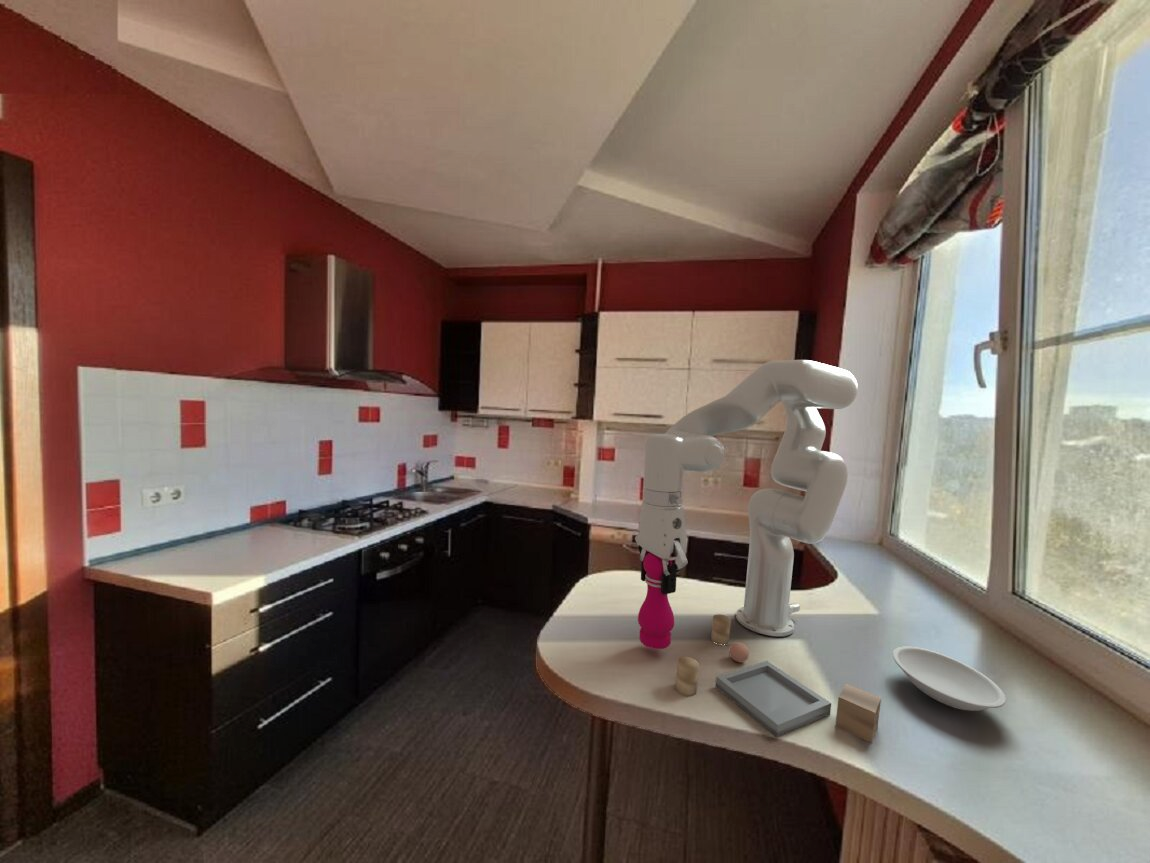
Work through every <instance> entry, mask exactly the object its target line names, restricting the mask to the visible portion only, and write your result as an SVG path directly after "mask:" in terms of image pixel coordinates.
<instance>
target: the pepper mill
mask: <svg viewBox="0 0 1150 863" xmlns="http://www.w3.org/2000/svg"><path fill="white" fill-rule="evenodd" d="M670 557H671V555H670ZM668 563H669V567H670V566H671V565H672V561H668ZM643 566H644V569H645V571H646V572H647V573H646V575H645V577H646V579H645V581H644V582H645V583H646V586H647V591H646V597H644V600H643V602H642V604H641V606H640V608H639V611H638V616H637V622H638V625H639V626H640V629H639V636H638V637H639V642H640V643H641V645H644V646H645V647H648V648H650V649H655V650H658V649H659V650H662V649H663V650H664V649H666V648H668V647H669V646H671V643H672V633H671V631H672V629H674V626H675V616H674V615H675V614H674V612H673V610H672V607H671V605H670V602H669V598H668V594H665V595H663V594H662V593H661V577H662V574H664V569H663V563H662V559H661V558H659V557H658V556H656V555H654V554H652V553H650V552H649V553H648V554H647V555H646V556H645V558H644V562H643Z"/></svg>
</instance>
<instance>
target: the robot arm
mask: <svg viewBox="0 0 1150 863" xmlns="http://www.w3.org/2000/svg"><path fill="white" fill-rule="evenodd" d="M858 386H859V385H858V382H857V379H856V378H855V376H854V375H853V374H852V372H850V371H849V370H846V369H843V368H840V367H837V366H833V365H829V364H826V363H821V362H818V361H814V360H809V359H792V360H791V359H790V360H772V361H767V362H765V363H763V364H761V365H759V366H758V367H757V368H756V369H755V370H754V371H753V372H751V373H750V374H749V375H748V376H747V377H746V378H744V379H743V380H742V381H741V382H740V383H739V384H737V385H736V386H735V387H734V388H733V389H732V390H730V391H729V392H728V393H727V394H726V395H724V396H723V397H720V398H718V399H715V400H713V401H711V402H709V403H707V404H705V405H703V406H700V407H698V408H696V409H694V410H692V411H691V412H688V413H687V414H685V415H683V417H681V418H680V419H679V420H677V421H676V422H675V423H674V424H673V425H672V426H671V427H669V429H667V430H666V432H664V433H652V434H649V435H648V436H647V437H646V439H645V444H644V460H643V461H644V467H643V483H642V484H643V486H642V501H641V506H640V512H639V519H638V526H637V527H638V528H637V529H638V531H637V534H636V535H635V536H634V540H635V542H636V545H637V549H638V551H639V554H640V555H639V560H640V561H641V562H640V563H641V566H640V568H641V569H640V580H641V581H642V582H645V579H646V577H645V575H646V573H647V572H646V571H645V569H644V566H643V562H644V558H645V556H646V555H647V554H648V553H649V552H650V553H652V554H654V555H656V556H658V557H659V558H661V559H662V563H663V569H664V574H662V577H661V593H662V594H663V595H665V594H667V595H669V594H673V593H676V591H677V590H676V589H677V575H678V574H679V573H680V571H681V570H682V569H683V568H684V567H686V566H687V565H688V564H689V563H688V559H687V557H686V556H687V555H686V554H687V524H686V522H687V521H686V515H685V508H684V507H682V503H683V485H684V484H683V482H684V472H697V473H709V472H713V471H715V470H717V469H718V468H719V467H720V466H721V465H722V464H723V462H724V461H725V458H726V451H725V447H724V444H723V443H722V442H721V441H720V440H719V438H717V437H715V436H717V435H722V434H726V433H727V434H728V433H732V432H738V431H742V430H746V429H748V428H752V427H753V426H755V425H756V424H757V423H758V422H759V421H760V420H761V419H763V417H765V416H766V415H767V414H768V413H769V412H770V411H771V410H772V409H773V408H774V407H776V405H777V404H779V403H780V402H781V404H782V407H783V409H784V411H785V417H786V427H785V430H784V433H783V435H782V437H781V440H780V443H779V446H778V448H777V451H776V453H775V455H774V458H773V461H772V463H771V466H770V477H771V479H772V480H773V481H774V482H775V483H776V484H779V485H781V486H783V487H787V488H791V489H794V490H798V491H802V492H805V495H804V496H803V495H800V494H796V493H793V492H789V491H785V490H781V489H776V488H763V489H759V490H757V491H755V492H754V493H753V494H752V495H751V497H750V499H749V501H748V505H747V513H748V524H749V546H748V556H747V558H748V559H747V567H746V568H747V569H746V580H745V591H744V601H743V606H742V607H740V608H738V609H737V610H736V612H735V618H736V621H738V623H739V624H740V625H742V626H743V627H744V628H745V629H747V630H749V631H752V632H754V633H757V634H760V635H765V636H768V637H769V636H770V637H786V636H790V635H792V634H793V633H794V631H795V623H794V621H793V620H792V619H791V618H790V617H791V615H792V613H793V614H794V613H796V612H800V611H801V606H800V604H798V603H796V602H794V603H790V598H791V587H792V579H793V577H792V576H793V569H794V568H793V567H794V558H795V552H794V547H793V546H794V545H793V543H792V540H791V539H793V540H795V541H799V542H801V543H805V544H811V545H812V544H818V543H819V542H821V541H822V540H824V539H825V538H826V536H827V534H828V533H829V531H830V529H831V526H832V523H833V521H834V519H835V516H836V513H837V511H838V508H839V505H840V503H841V500H842V497H843V495H844V492H845V489H846V486H847V484H848V473H849V472H848V466H847V464H846V461H845V460H844V458H842V456H840V455H838V454H837V453H834V452H831V451H826V450H825V451H824V450H822V448H823V444H824V442H825V439H826V434H827V431H826V425H825V423H824V421H823V419H822V416H821V415H820V413H819V410H818V409H828V410H841V409H846V408H847V407H849V406H851V404H853V402H854V401H855V399H856V398H857V395H858V392H859V391H858V390H859V387H858ZM670 556H671V557H670ZM668 561H672V565H671V566H670V567H669V563H668Z"/></svg>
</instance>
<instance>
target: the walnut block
mask: <svg viewBox="0 0 1150 863" xmlns="http://www.w3.org/2000/svg"><path fill="white" fill-rule="evenodd" d="M881 700H882V698H881V697H880V696H877V695H875V694H872V693H870V692H867V691H865V690H863V689H860V688H858V687H855V686H853V685H850V684H848V683H845V685H844V687H843V688H842V690H841V692H840V693H839V695H838V700H837V708H836V715H835V716H836V717H835V724H834V726H835V727H837V728H839V729H841V730H843V731H846V732H847V733H849V734H852V735H854V736H856V737H858V738H860V739H862V740H864V741H867V742H869V743H871V744H873V741H874V738H875V735H876V732H877V730H878V728H879V720H880V719H879V718H880V710H881V702H882V701H881Z"/></svg>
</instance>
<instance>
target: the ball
mask: <svg viewBox="0 0 1150 863" xmlns="http://www.w3.org/2000/svg"><path fill="white" fill-rule="evenodd" d="M749 654H750V652H749V648H748V646H746V645H745V644H744V643H743V642H740V641H736V642H733V643H732V644H731V645H730V647H729V655H730V657H731V658H732V659H733V661H735V662H737V663H745V662H746V661H747V660H748V658H749Z"/></svg>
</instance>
